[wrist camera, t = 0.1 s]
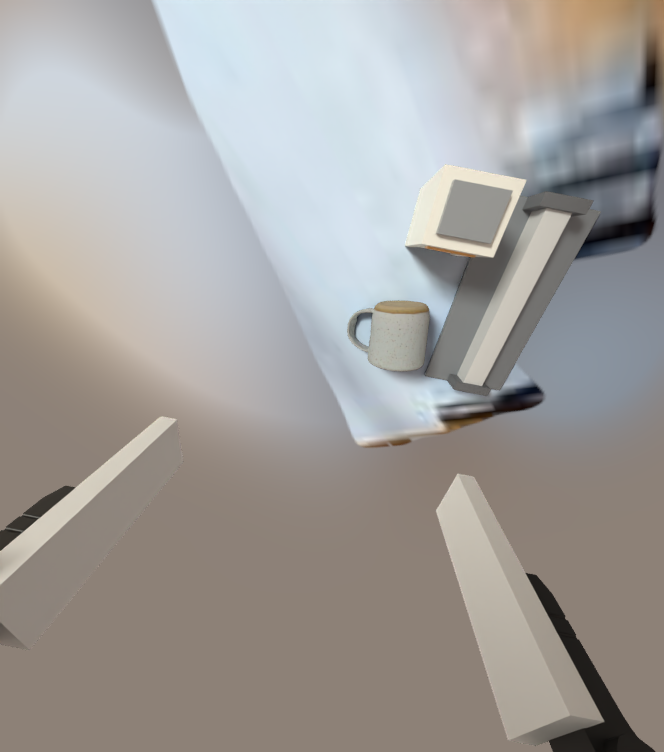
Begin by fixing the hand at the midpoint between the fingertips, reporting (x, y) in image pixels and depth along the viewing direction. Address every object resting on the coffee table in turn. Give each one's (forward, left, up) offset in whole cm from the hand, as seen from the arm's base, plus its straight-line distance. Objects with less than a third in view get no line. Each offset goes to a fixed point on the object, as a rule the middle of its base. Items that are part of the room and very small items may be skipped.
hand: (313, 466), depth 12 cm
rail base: (-6, +21, -28) cm, 35 cm away
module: (-14, +10, -28) cm, 33 cm away
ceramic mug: (0, +7, -28) cm, 29 cm away
